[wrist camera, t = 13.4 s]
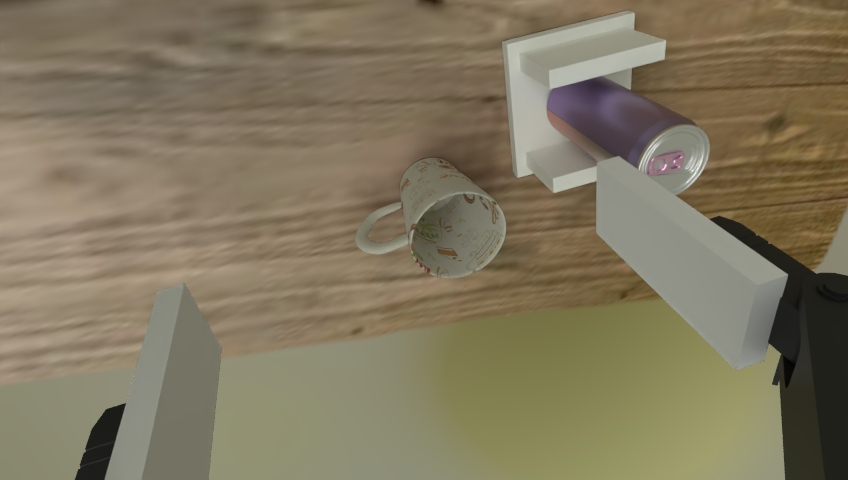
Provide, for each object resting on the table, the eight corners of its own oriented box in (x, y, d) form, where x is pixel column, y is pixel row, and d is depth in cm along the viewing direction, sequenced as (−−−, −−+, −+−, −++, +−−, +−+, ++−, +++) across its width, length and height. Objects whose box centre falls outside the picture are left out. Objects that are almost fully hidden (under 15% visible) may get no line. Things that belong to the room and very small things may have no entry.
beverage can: (544, 72, 47) (642, 130, 34) (605, 62, 48) (721, 115, 35) (541, 135, 50) (630, 208, 38) (598, 125, 51) (703, 193, 39)
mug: (478, 203, 54) (516, 255, 46) (366, 250, 53) (383, 312, 45) (456, 131, 49) (493, 175, 41) (332, 183, 49) (345, 238, 41)
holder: (513, 172, 53) (543, 205, 47) (502, 41, 46) (536, 60, 40) (621, 142, 54) (664, 171, 48) (627, 10, 47) (678, 24, 41)
